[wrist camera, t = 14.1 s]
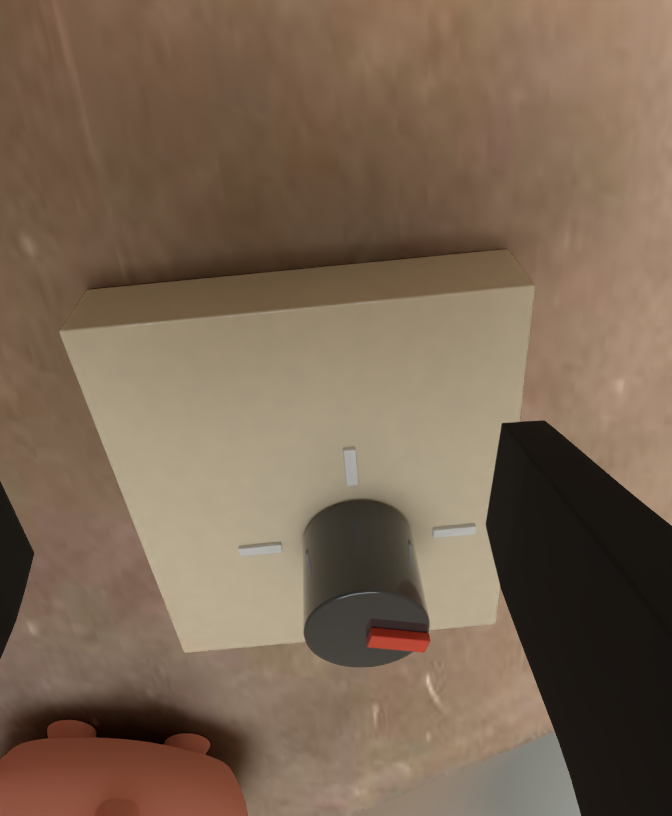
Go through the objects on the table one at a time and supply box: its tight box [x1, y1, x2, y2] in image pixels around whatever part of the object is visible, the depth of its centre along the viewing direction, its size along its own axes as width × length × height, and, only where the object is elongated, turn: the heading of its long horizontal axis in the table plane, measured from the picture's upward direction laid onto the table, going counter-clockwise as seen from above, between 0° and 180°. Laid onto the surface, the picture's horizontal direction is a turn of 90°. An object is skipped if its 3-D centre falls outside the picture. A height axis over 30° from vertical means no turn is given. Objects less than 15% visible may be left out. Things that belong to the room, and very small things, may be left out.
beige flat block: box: [59, 249, 535, 653], centre depth 20 cm, size 14×12×3 cm
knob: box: [303, 501, 430, 667], centre depth 19 cm, size 4×4×4 cm
